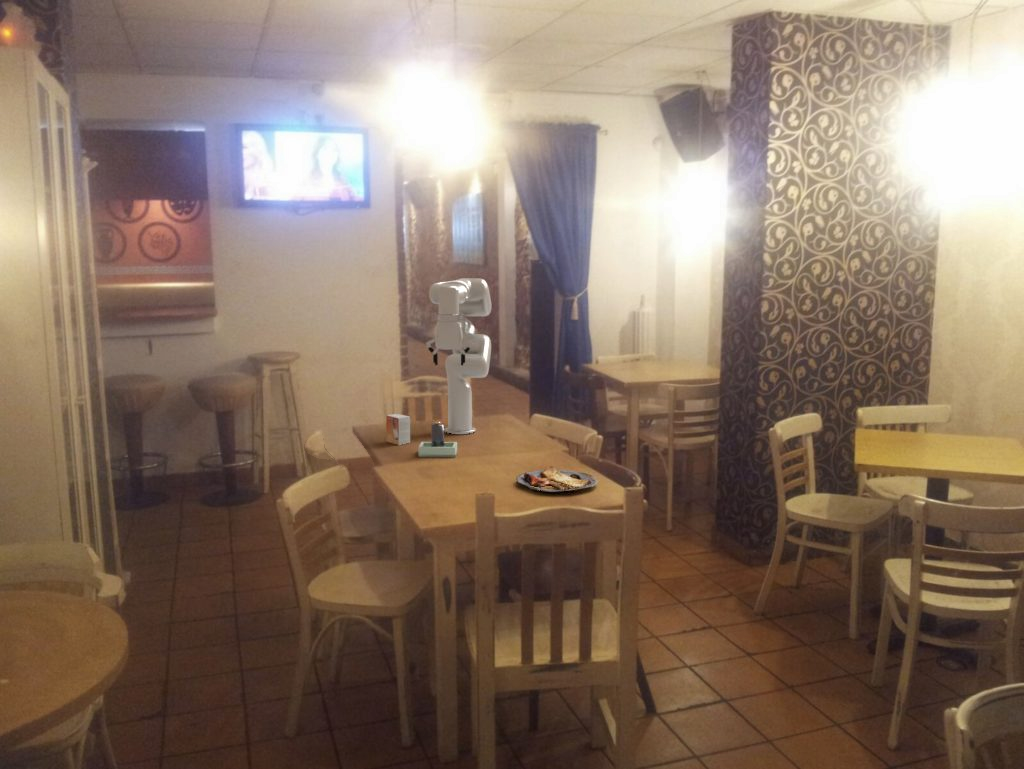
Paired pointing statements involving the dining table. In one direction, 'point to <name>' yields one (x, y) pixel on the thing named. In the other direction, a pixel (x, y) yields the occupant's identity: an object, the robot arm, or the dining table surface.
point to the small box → (398, 429)
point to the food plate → (556, 479)
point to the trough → (437, 450)
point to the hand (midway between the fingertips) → (449, 364)
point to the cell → (437, 435)
